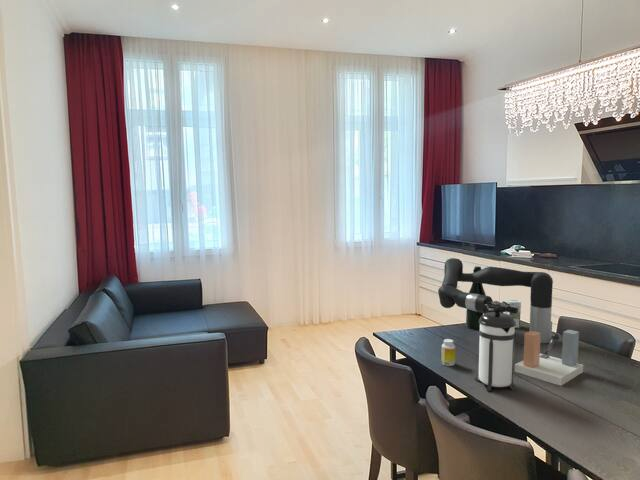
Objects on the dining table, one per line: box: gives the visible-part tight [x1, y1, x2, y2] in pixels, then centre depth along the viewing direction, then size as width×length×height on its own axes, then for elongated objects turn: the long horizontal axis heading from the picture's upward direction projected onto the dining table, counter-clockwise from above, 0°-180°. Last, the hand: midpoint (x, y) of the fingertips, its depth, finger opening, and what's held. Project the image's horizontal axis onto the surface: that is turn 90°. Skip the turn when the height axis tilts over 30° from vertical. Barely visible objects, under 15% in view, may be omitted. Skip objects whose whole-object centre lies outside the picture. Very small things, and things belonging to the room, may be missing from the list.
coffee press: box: [474, 307, 517, 392], centre depth 170 cm, size 17×16×30 cm
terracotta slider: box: [523, 331, 541, 368], centre depth 180 cm, size 4×5×13 cm
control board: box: [514, 353, 584, 387], centre depth 182 cm, size 18×20×4 cm
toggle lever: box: [543, 333, 560, 355], centre depth 187 cm, size 3×3×10 cm
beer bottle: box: [465, 265, 487, 331], centre depth 241 cm, size 10×10×33 cm
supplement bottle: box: [440, 338, 456, 367], centre depth 191 cm, size 6×6×10 cm
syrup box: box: [505, 299, 522, 329], centre depth 242 cm, size 6×6×14 cm
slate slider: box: [561, 329, 580, 366], centre depth 181 cm, size 4×5×13 cm
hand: (516, 310), depth 184 cm, fingers closed
